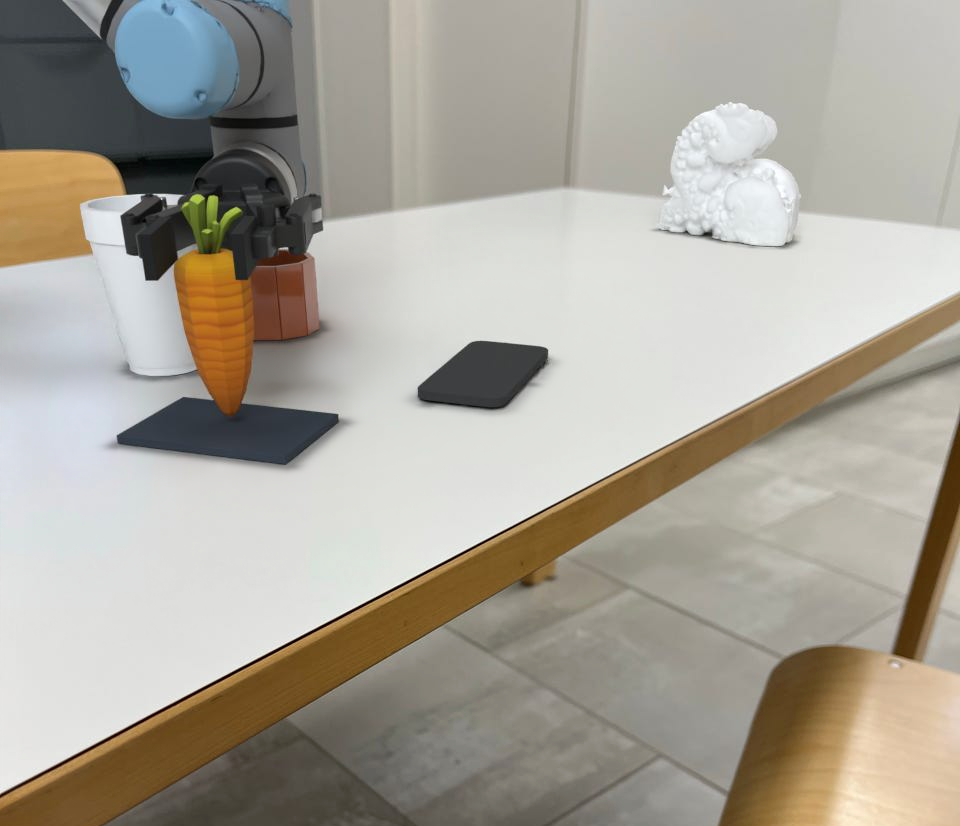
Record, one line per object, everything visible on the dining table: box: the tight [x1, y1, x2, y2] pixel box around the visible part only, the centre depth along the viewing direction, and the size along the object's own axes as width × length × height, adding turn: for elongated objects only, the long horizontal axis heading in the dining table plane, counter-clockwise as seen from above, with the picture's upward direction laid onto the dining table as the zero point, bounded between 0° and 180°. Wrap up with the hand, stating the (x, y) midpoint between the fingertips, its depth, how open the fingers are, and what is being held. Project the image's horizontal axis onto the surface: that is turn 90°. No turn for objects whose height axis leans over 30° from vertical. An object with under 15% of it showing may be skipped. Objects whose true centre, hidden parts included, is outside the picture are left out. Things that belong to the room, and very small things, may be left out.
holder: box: [250, 248, 320, 341], centre depth 97 cm, size 8×9×6 cm
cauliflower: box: [657, 101, 802, 247], centre depth 139 cm, size 19×20×20 cm
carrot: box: [174, 194, 254, 418], centre depth 70 cm, size 5×5×15 cm
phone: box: [417, 340, 549, 408], centre depth 85 cm, size 7×1×15 cm
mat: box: [116, 396, 340, 465], centre depth 74 cm, size 13×9×1 cm
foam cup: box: [79, 193, 198, 377], centre depth 85 cm, size 10×9×13 cm
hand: (193, 257), depth 63 cm, fingers closed on carrot, 5 cm apart
